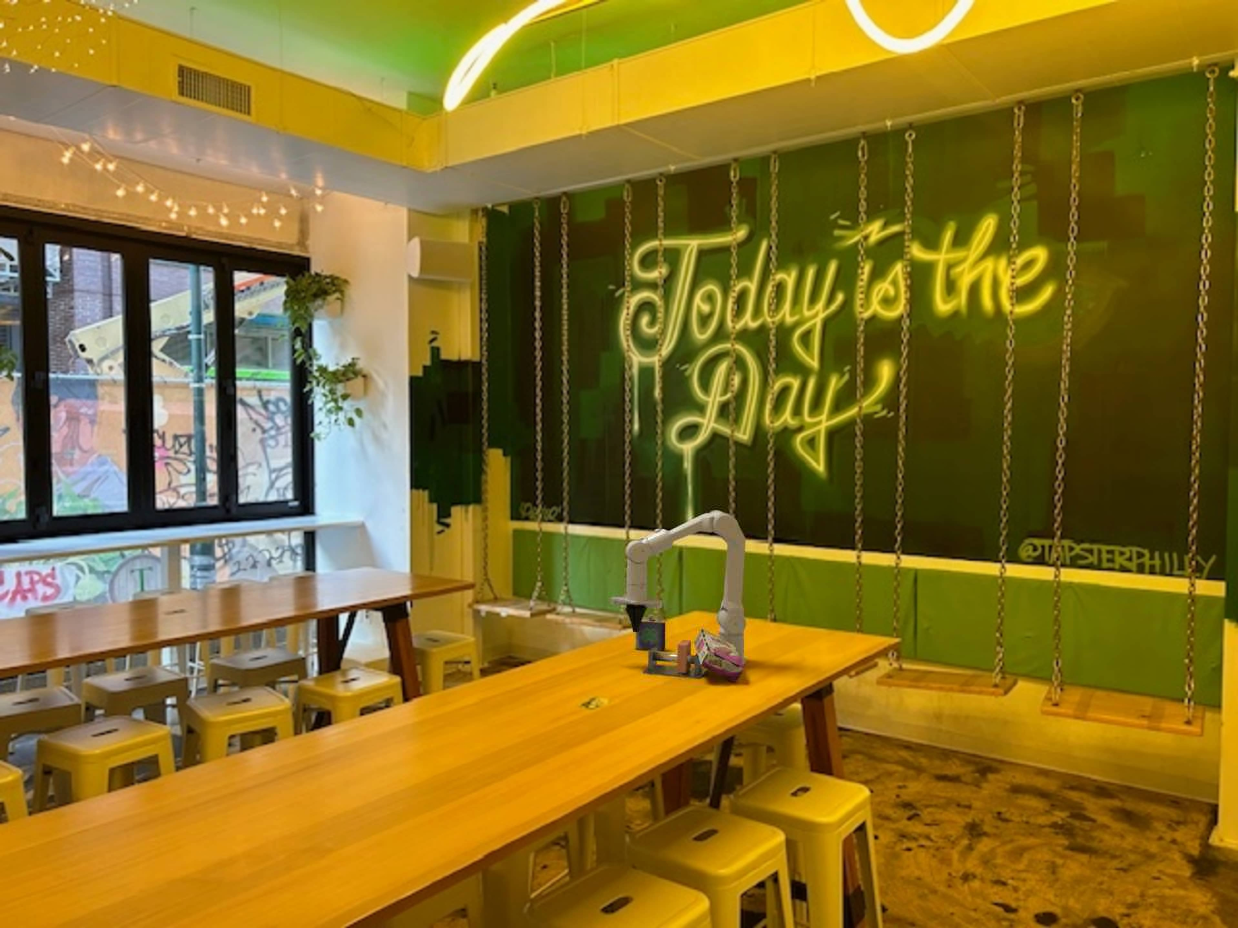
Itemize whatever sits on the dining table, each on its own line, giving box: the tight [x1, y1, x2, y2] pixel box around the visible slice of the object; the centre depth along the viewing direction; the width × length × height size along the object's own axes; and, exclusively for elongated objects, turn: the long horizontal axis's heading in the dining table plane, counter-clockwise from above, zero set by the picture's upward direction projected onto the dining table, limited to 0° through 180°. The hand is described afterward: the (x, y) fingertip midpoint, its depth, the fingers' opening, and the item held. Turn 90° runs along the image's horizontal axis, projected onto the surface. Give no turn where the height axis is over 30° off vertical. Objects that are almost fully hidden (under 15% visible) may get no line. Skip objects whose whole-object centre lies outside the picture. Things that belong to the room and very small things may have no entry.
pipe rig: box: [642, 648, 708, 679], centre depth 258 cm, size 9×16×6 cm, turn 73°
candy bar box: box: [693, 628, 745, 683], centre depth 254 cm, size 11×5×16 cm
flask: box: [635, 614, 666, 653], centre depth 282 cm, size 9×3×11 cm, turn 76°
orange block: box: [676, 639, 692, 673], centre depth 257 cm, size 6×2×8 cm, turn 163°
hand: (636, 631), depth 263 cm, fingers closed
